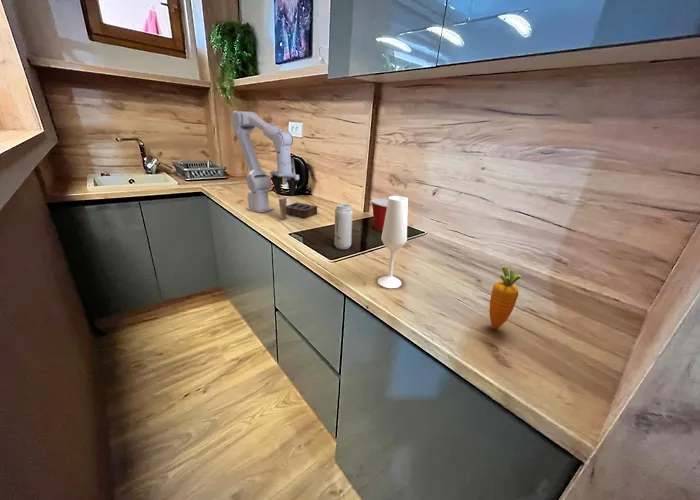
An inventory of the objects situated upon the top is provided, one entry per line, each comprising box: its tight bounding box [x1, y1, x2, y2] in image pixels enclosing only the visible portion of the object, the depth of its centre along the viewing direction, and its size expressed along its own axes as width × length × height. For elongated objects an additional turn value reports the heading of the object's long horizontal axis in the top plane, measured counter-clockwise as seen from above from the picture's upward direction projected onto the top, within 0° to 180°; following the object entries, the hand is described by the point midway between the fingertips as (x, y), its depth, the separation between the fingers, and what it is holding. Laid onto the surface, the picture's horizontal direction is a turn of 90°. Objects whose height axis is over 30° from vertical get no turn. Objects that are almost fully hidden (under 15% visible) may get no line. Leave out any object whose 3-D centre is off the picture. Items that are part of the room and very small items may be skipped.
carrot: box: [489, 265, 522, 330], centre depth 65 cm, size 5×5×15 cm
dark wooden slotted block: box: [286, 201, 318, 219], centre depth 143 cm, size 12×10×4 cm
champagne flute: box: [377, 195, 409, 289], centre depth 81 cm, size 7×7×24 cm
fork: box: [278, 197, 288, 221], centre depth 133 cm, size 1×4×9 cm, turn 151°
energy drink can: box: [333, 203, 354, 250], centre depth 105 cm, size 6×6×15 cm
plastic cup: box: [370, 198, 388, 232], centre depth 125 cm, size 11×11×12 cm
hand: (285, 194), depth 133 cm, fingers open, 7 cm apart
